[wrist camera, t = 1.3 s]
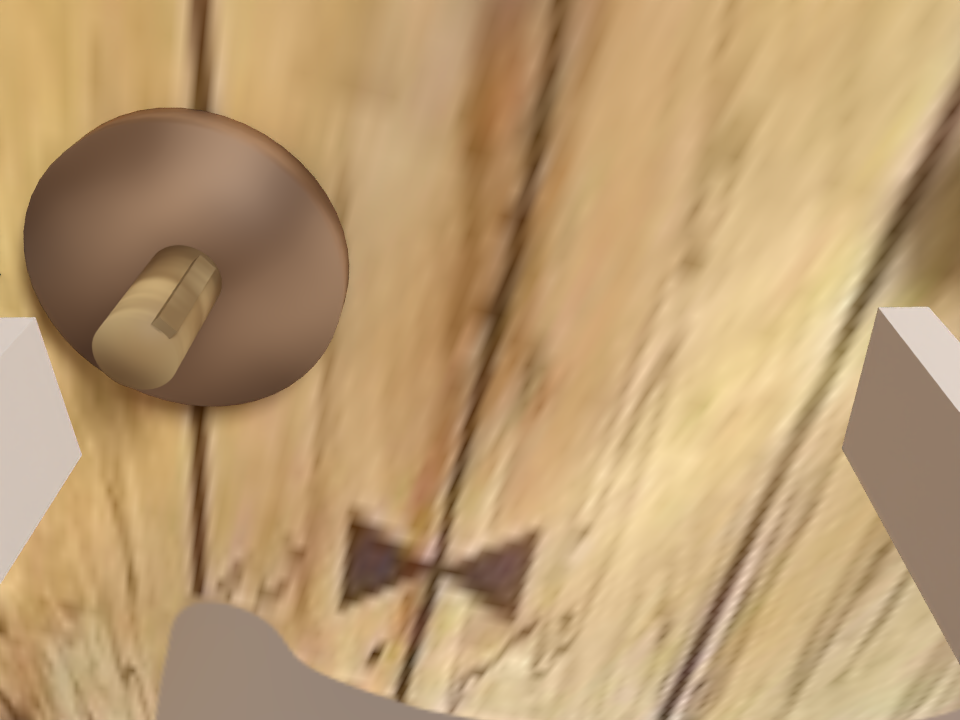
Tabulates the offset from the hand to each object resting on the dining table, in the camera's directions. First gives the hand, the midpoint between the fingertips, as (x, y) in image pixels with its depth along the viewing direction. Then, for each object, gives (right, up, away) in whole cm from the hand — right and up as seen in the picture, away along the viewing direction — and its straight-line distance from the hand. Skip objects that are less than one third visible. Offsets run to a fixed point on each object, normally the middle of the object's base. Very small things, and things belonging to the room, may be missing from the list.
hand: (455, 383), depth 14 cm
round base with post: (-12, +5, +24) cm, 27 cm away
